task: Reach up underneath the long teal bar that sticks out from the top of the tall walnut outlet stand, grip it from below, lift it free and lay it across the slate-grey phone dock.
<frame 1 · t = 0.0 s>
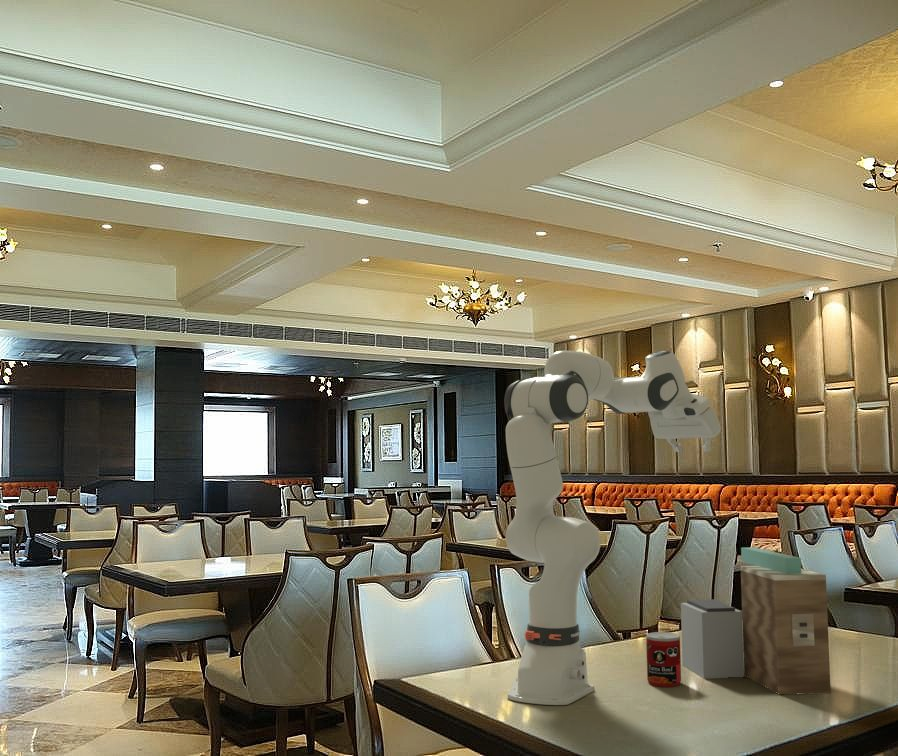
hand: (693, 450, 245), 54 cm above the table, tool tilted 30°, fingers open, 8 cm apart
phone dock: (712, 671, 219), on the table
long teal bar: (769, 567, 215), point 26 cm above the table, touching outlet stand
canned food: (664, 684, 208), on the table
outlet stand: (785, 683, 207), on the table
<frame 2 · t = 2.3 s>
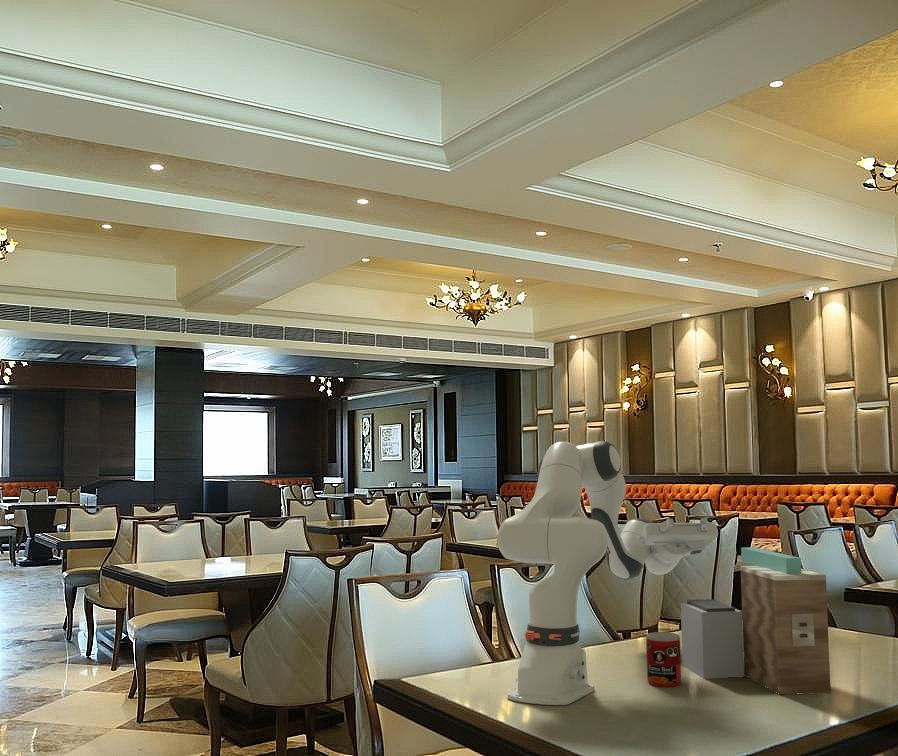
hand: (688, 520, 239), 35 cm above the table, tool pointing upward, fingers open, 8 cm apart
nothing on the table moved.
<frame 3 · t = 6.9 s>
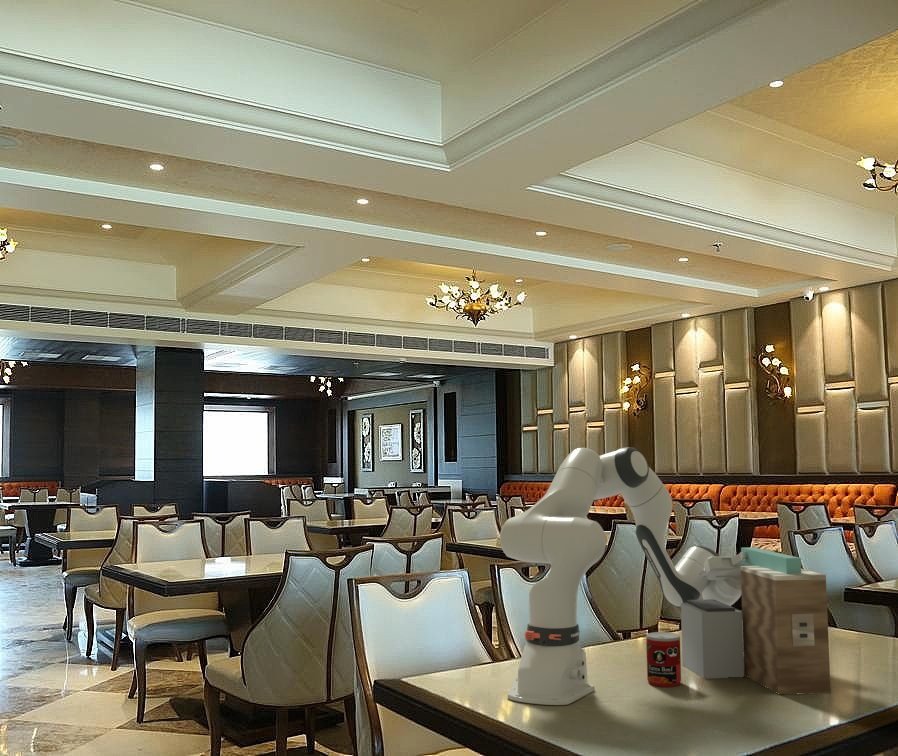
hand: (754, 554, 223), 28 cm above the table, tool pointing upward, fingers closed on long teal bar, 3 cm apart
long teal bar: (769, 567, 215), point 26 cm above the table, touching gripper, outlet stand
everything else where it was.
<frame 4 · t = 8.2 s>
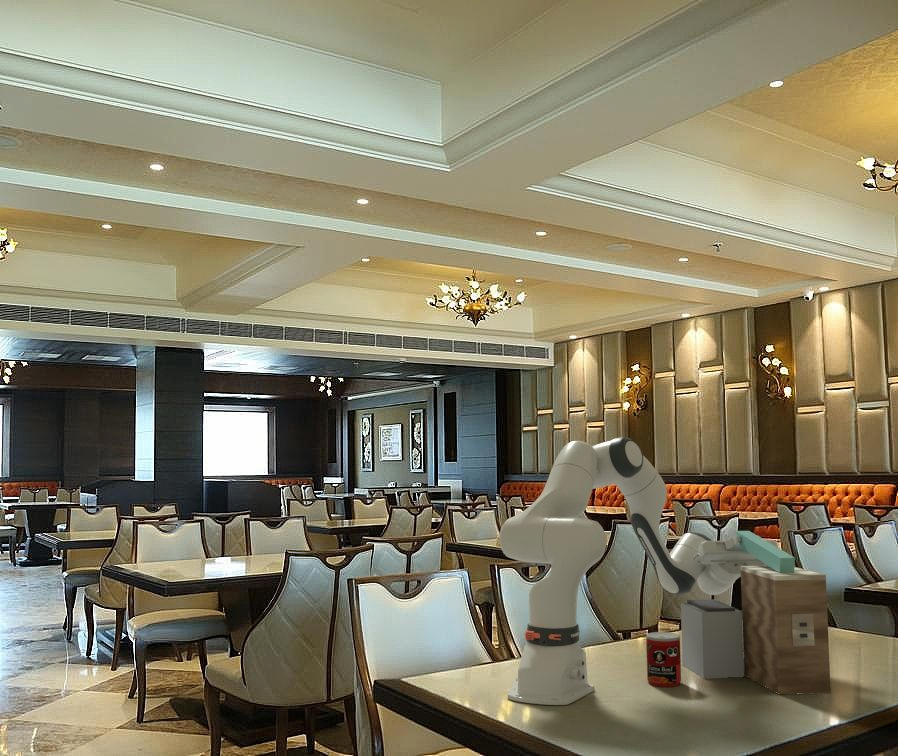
hand: (748, 538, 224), 32 cm above the table, tool pointing upward, fingers closed on long teal bar, 3 cm apart
long teal bar: (763, 557, 216), point 28 cm above the table, tilted 10°, touching gripper
everything else where it was.
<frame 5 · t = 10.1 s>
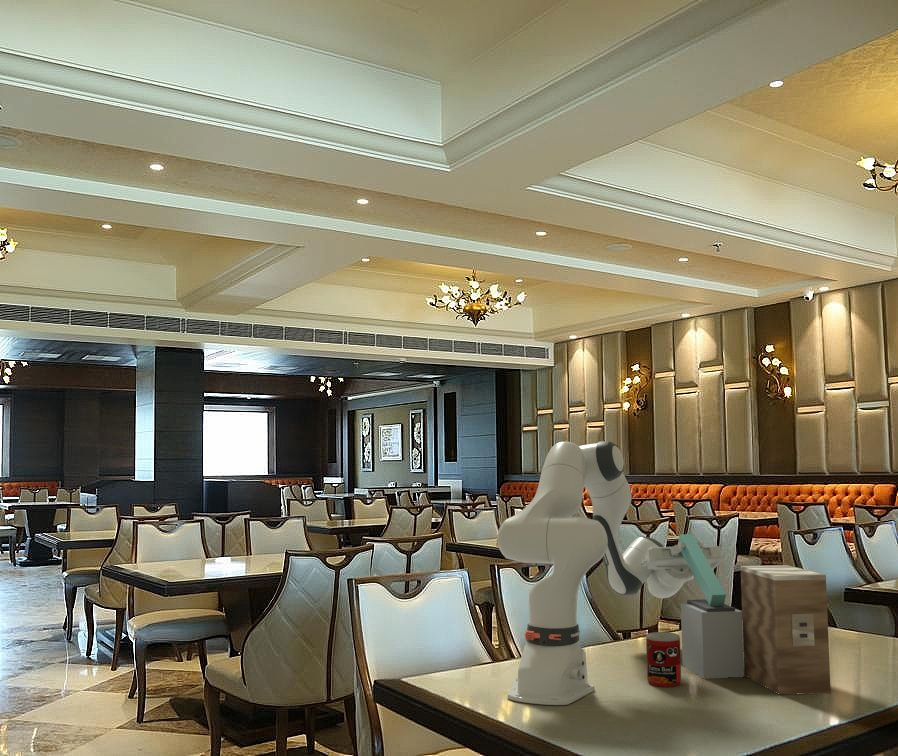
hand: (691, 544, 233), 30 cm above the table, tool pointing upward, fingers closed on long teal bar, 3 cm apart
long teal bar: (699, 573, 228), point 23 cm above the table, tilted 32°, touching gripper
everything else where it was.
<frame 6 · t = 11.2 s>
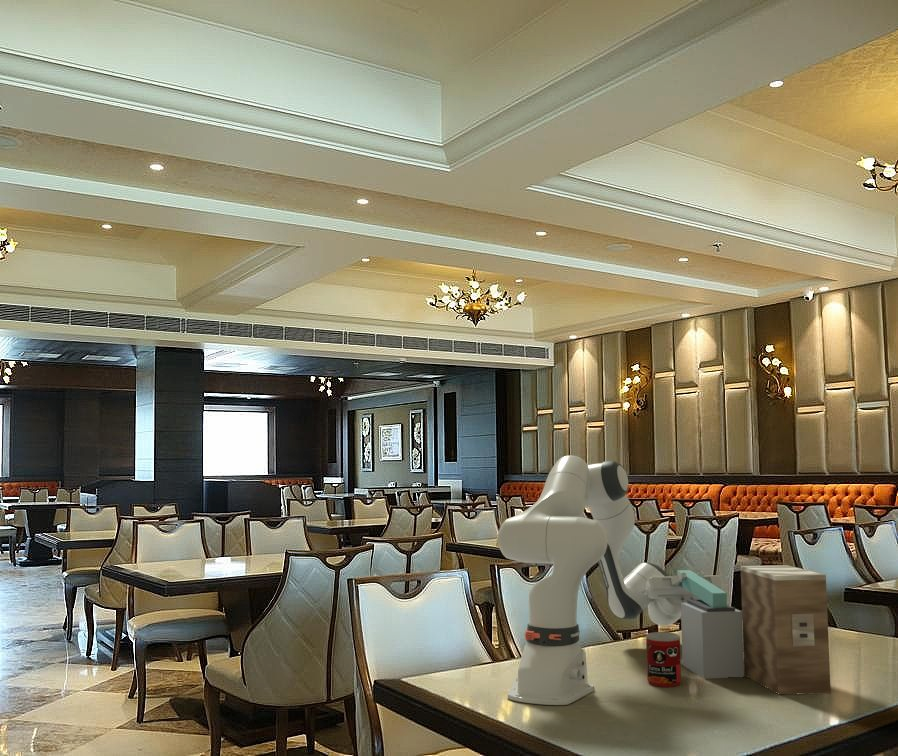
hand: (692, 575, 232), 22 cm above the table, tool pointing upward, fingers closed on long teal bar, 3 cm apart
long teal bar: (700, 594, 227), point 18 cm above the table, tilted 6°, touching gripper, phone dock
everything else where it was.
when the fingers open (19 cm above the table, at t = 12.2 s): long teal bar stays where it is, resting on phone dock.
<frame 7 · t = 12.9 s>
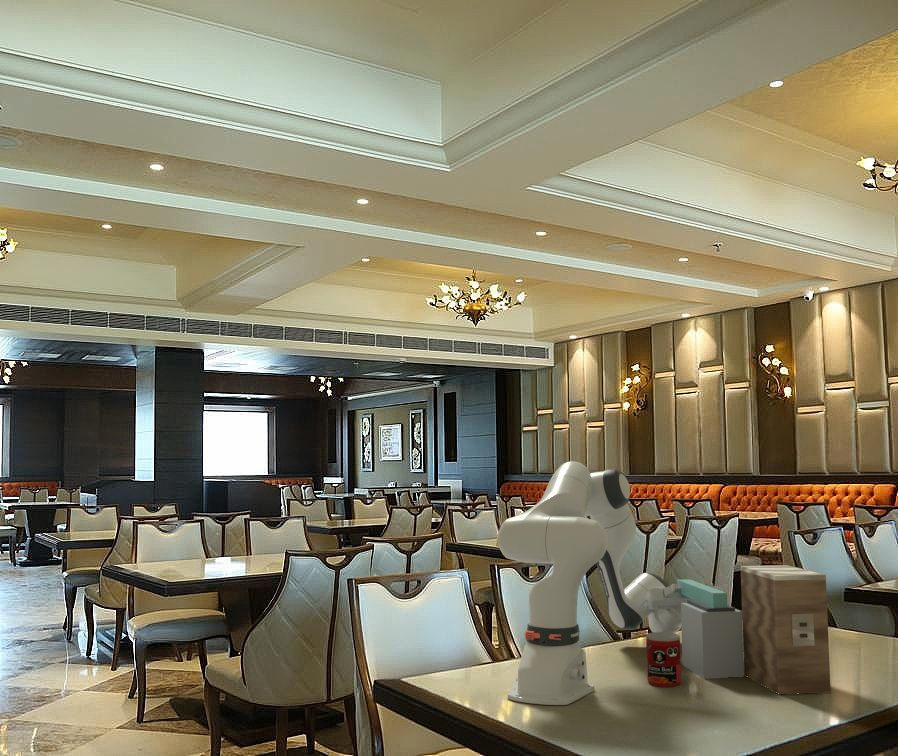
hand: (693, 586, 232), 19 cm above the table, tool pointing upward, fingers open, 8 cm apart
long teal bar: (701, 599, 227), point 16 cm above the table, touching phone dock
everything else where it was.
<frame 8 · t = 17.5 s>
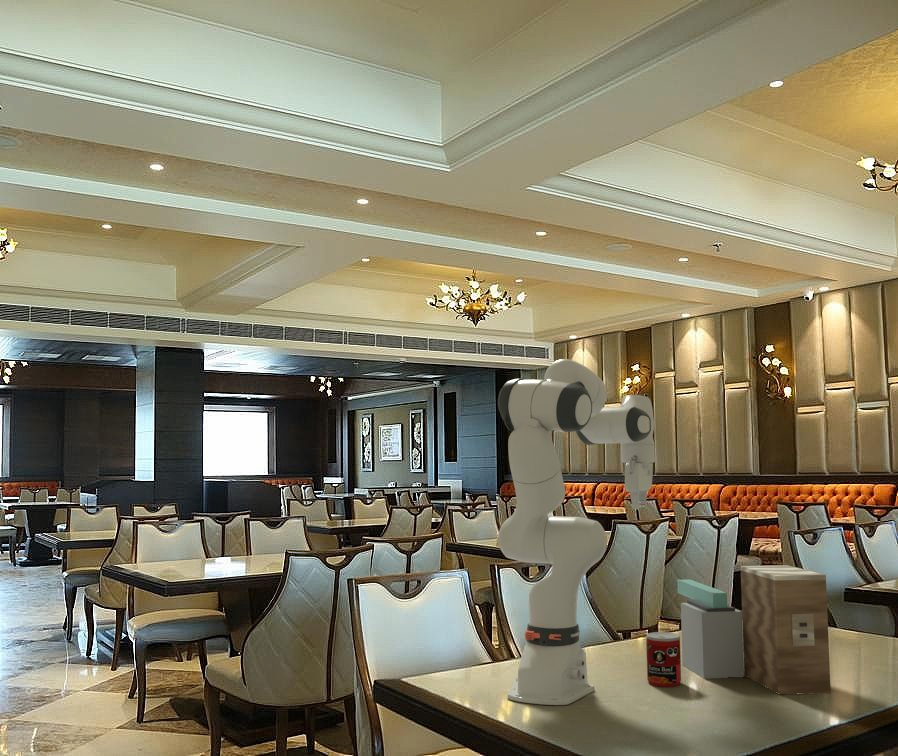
hand: (639, 508, 236), 39 cm above the table, tool pointing down, fingers open, 8 cm apart
nothing on the table moved.
at the end: long teal bar 6.0 cm from the phone dock (horizontally); long teal bar point 16.3 cm above the table; the gripper is holding nothing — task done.
